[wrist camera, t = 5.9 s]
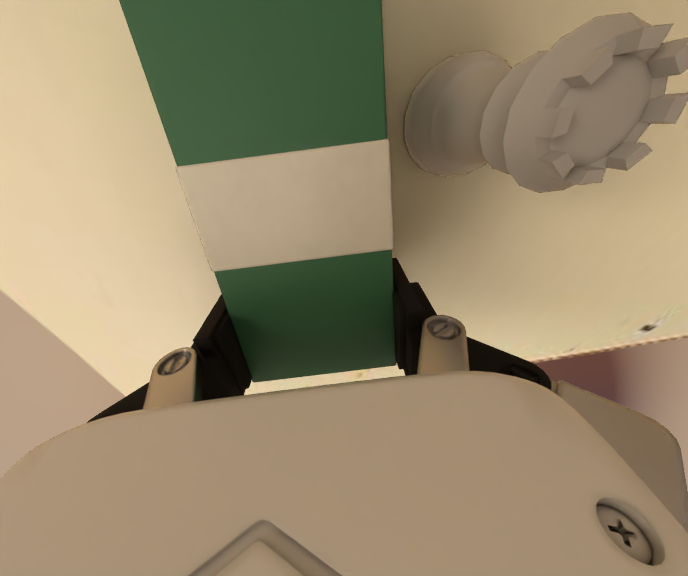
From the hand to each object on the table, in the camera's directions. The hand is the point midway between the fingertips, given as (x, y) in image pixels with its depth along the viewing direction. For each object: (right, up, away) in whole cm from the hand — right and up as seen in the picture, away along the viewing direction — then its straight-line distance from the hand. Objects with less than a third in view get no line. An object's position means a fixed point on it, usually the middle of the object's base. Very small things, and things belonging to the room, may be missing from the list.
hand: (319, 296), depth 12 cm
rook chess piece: (+6, +8, 0) cm, 10 cm away
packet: (-1, +5, 0) cm, 5 cm away
